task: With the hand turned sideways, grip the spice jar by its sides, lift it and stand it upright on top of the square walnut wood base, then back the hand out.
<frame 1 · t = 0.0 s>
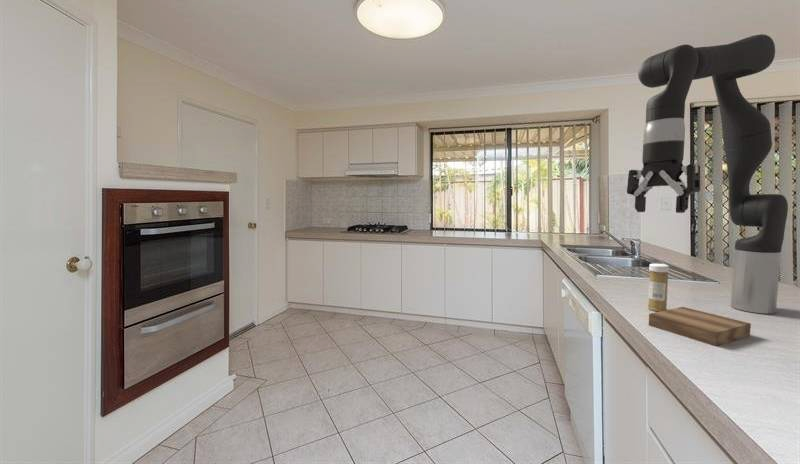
hand: (659, 212, 80), 29 cm above the worktop, tool pointing down, fingers open, 8 cm apart
walnut base: (696, 330, 84), on the worktop
spice jar: (656, 310, 100), on the worktop
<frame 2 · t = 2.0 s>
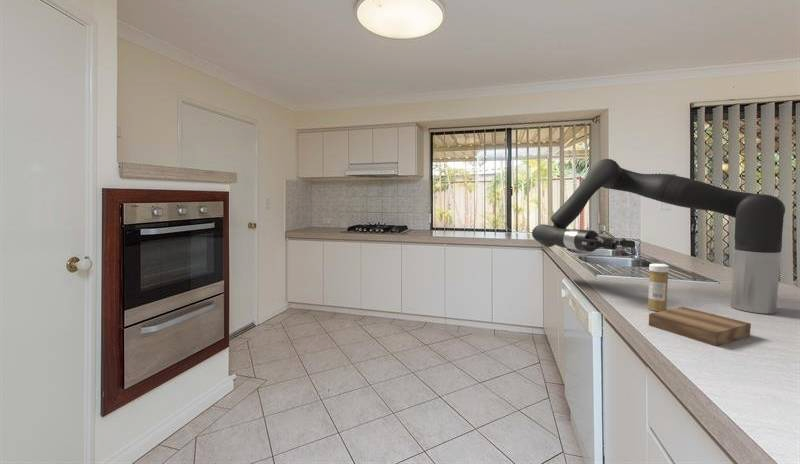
hand: (625, 245, 108), 18 cm above the worktop, tool horizontal, fingers open, 8 cm apart
nothing on the worktop moved.
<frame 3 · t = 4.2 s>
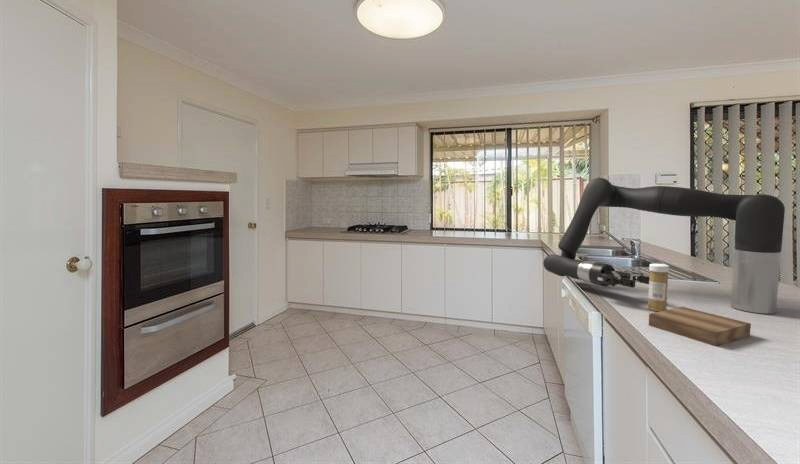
hand: (644, 282, 103), 7 cm above the worktop, tool horizontal, fingers open, 8 cm apart
nothing on the worktop moved.
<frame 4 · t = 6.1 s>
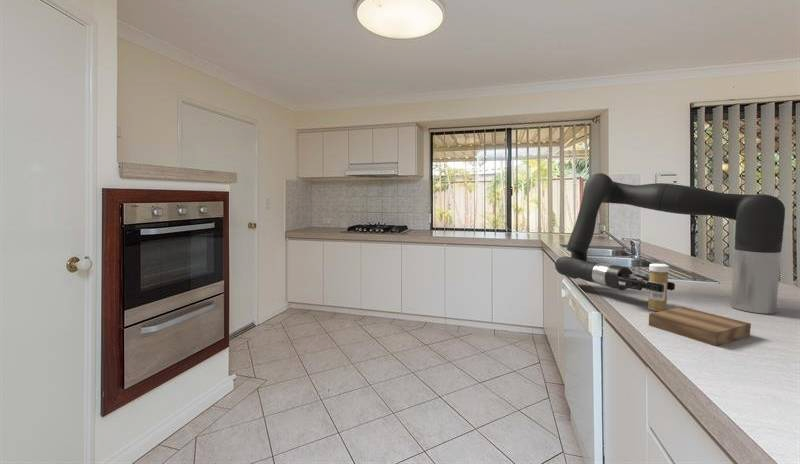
hand: (668, 287, 97), 7 cm above the worktop, tool horizontal, fingers closed on spice jar, 4 cm apart
spice jar: (656, 310, 100), on the worktop, touching gripper
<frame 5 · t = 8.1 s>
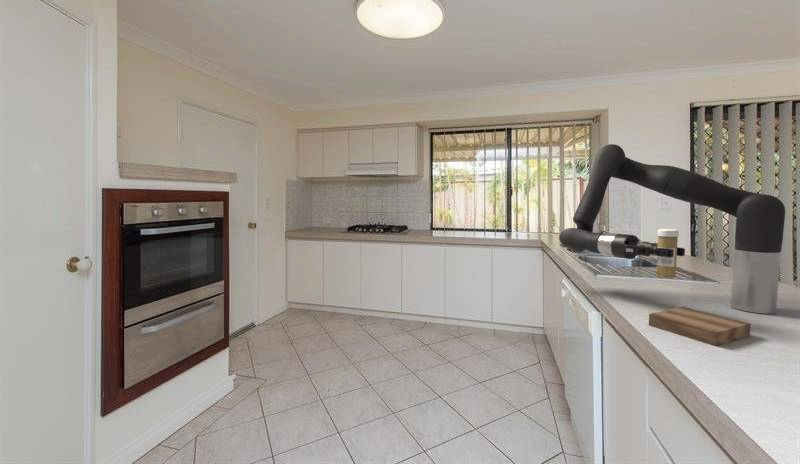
hand: (678, 252, 93), 18 cm above the worktop, tool horizontal, fingers closed on spice jar, 4 cm apart
spice jar: (665, 277, 96), point 10 cm above the worktop, touching gripper
when the fingers open (11 cm above the worktop, at t = 10.4 s): spice jar drops 1 cm, resting on walnut base.
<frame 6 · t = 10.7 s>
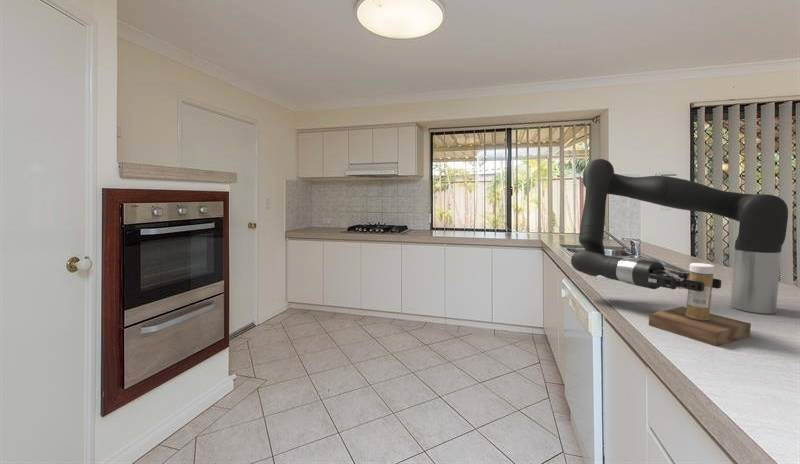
hand: (711, 285, 81), 12 cm above the worktop, tool horizontal, fingers open, 6 cm apart
spice jar: (696, 318, 84), point 3 cm above the worktop, touching walnut base
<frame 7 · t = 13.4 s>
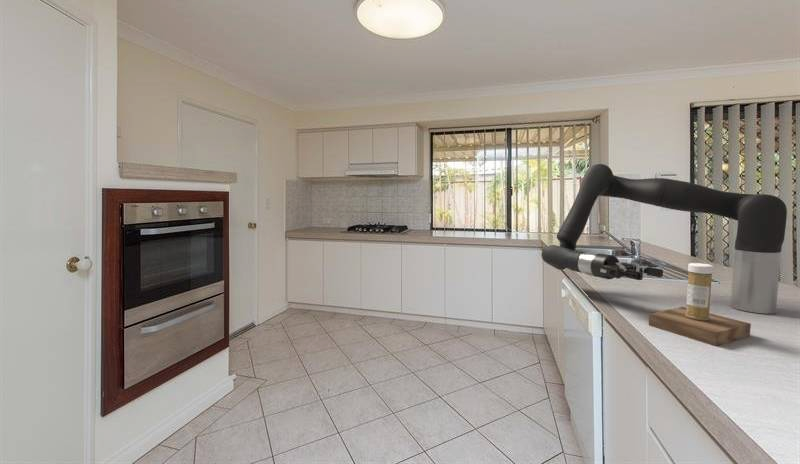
hand: (652, 274, 93), 12 cm above the worktop, tool horizontal, fingers open, 8 cm apart
nothing on the worktop moved.
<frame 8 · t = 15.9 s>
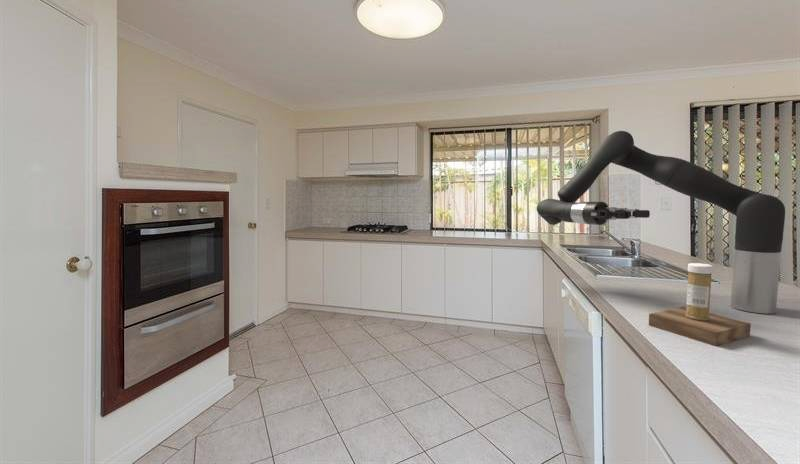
hand: (639, 214, 98), 28 cm above the worktop, tool horizontal, fingers open, 8 cm apart
nothing on the worktop moved.
at the end: spice jar inside the target area on the walnut base (0.2 cm from its centre), point 2.8 cm above the walnut base's base; spice jar tilted 0°; the gripper is holding nothing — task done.
